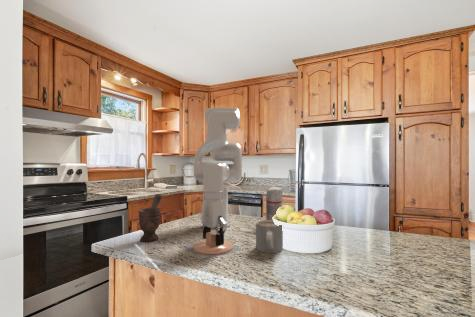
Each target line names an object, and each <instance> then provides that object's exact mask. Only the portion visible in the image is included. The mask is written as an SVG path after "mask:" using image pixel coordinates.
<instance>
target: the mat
mask: <svg viewBox="0 0 475 317" xmlns="http://www.w3.org/2000/svg"><path fill="white" fill-rule="evenodd" d="M193 244H194V243H192V244H187V245H184V247H185V248H187V249H188V250H190V251H191V252H193V253H194V254H195V255H197V256H198V257H200V258H202V259H203V260H206V259H209V258H214V257H215V258H216V257H219V256H224V255H227V254H230V253H231V254H232V253H236V252H240V251H243V249H242V248H240V247H238V246H236V245H234V244H233V249H232V250H231V251H230V252H227V253H224V254H219V255H204V254H199V253H196V252H195V251H194V250H193Z"/></svg>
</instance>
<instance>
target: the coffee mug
mask: <svg viewBox="0 0 475 317" xmlns="http://www.w3.org/2000/svg"><path fill="white" fill-rule="evenodd" d="M283 234H284V230H283V231H282V225H279V226H277V225H275V224H274V222H273V220H266V219H263V220H258V221H256V223H255V250H257V251H259V252H262V253H266V254H275V253H276V254H277V253H280V252H282V251H283V249H284V248H283V247H284V245H283V244H284V243H283V242H284V238H283V237H284V236H283Z"/></svg>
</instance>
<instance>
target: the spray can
mask: <svg viewBox="0 0 475 317" xmlns="http://www.w3.org/2000/svg"><path fill="white" fill-rule="evenodd" d="M265 199H266V200H265V201H266V204H265V209H266V210H265V212H266V215H265V216H266V218H265V220H272V217H273V216H274V215H275V214H276V211H277V209H278V208H279V207H281V206H282V207H283V188H282V187H275V186H271V187H270V188H269V189H266V197H265Z"/></svg>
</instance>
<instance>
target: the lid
mask: <svg viewBox="0 0 475 317" xmlns="http://www.w3.org/2000/svg"><path fill="white" fill-rule="evenodd" d="M216 234H217V233H216V230H213V231H211V232H207V233H206V239H202V240H198V241H196V242H194V243H192V244H193V250H194V251H195V252H196V253H199V254H204V255H219V254H223V255H225V254H224V253H227V252H230V251H231V250H232V249H233V245H234V244H233V242H231V241H229V240H226V239H224V244H223V245H219V246H216ZM196 253H195V254H196ZM219 256H220V255H219Z"/></svg>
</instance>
